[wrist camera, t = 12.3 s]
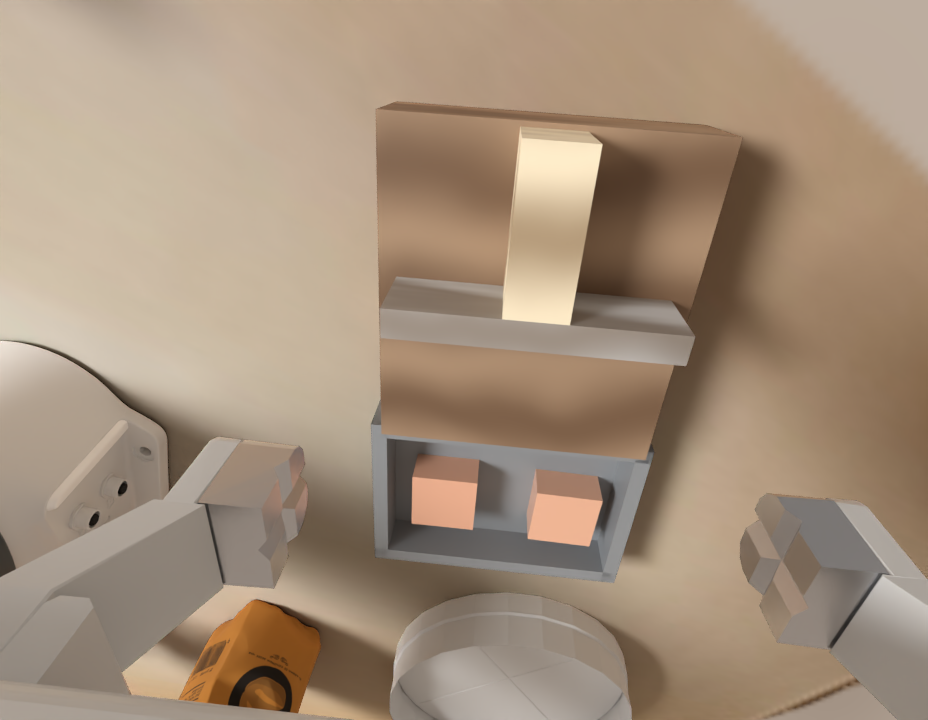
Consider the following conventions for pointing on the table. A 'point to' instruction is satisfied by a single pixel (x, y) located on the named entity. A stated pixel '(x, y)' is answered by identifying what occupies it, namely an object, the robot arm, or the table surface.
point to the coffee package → (256, 661)
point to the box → (501, 508)
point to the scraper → (542, 276)
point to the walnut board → (484, 259)
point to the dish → (508, 663)
